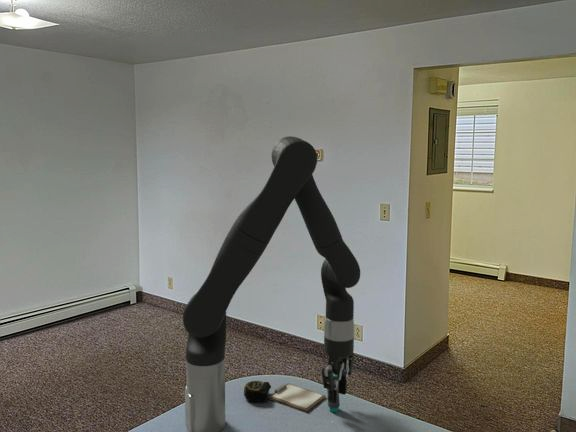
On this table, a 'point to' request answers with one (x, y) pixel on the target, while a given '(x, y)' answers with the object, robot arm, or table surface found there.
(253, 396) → the tape measure
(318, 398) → the clipboard
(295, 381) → the table surface
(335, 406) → the marker
